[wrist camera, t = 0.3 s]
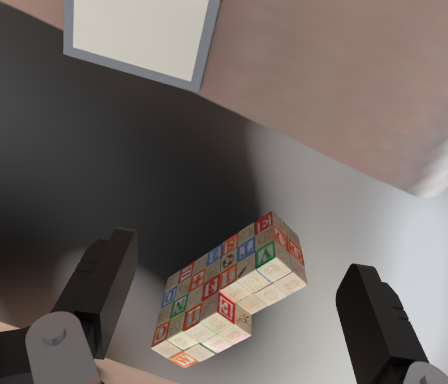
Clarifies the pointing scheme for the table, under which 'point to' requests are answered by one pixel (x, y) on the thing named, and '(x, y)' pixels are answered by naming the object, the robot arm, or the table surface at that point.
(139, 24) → the board
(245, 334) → the stack of blocks
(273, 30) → the table surface
